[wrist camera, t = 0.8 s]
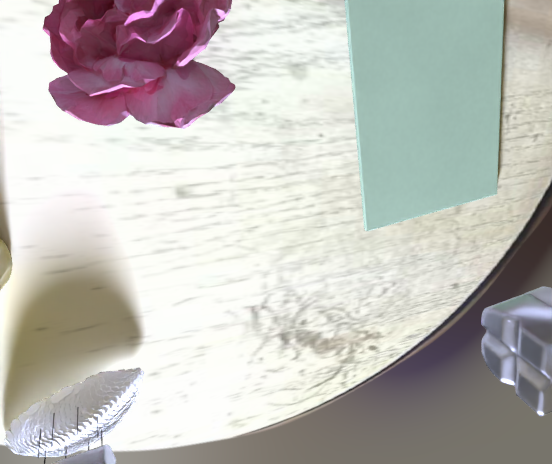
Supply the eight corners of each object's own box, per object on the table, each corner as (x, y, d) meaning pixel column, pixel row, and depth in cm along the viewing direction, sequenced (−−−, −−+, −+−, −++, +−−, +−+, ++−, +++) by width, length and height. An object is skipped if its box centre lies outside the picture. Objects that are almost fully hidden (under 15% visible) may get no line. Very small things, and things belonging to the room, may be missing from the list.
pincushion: (120, 341, 38) (125, 395, 33) (160, 385, 41) (169, 440, 37) (-20, 420, 37) (-35, 486, 33) (32, 459, 41) (25, 524, 36)
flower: (44, 8, 32) (24, -135, 23) (194, 20, 36) (229, -98, 26) (56, 172, 30) (40, 85, 20) (216, 167, 33) (262, 91, 24)
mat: (338, -68, 32) (341, -69, 32) (503, -91, 35) (508, -92, 35) (364, 229, 42) (366, 231, 41) (493, 192, 44) (497, 194, 44)
